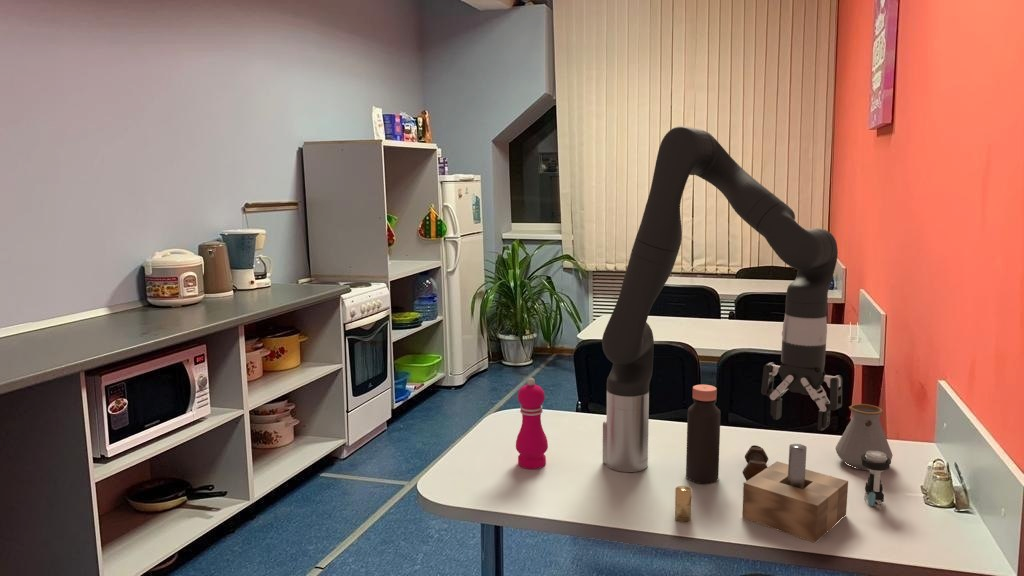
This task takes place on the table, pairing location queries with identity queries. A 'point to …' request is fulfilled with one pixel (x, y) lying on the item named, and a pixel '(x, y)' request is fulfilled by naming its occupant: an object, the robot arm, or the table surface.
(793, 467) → the long pin
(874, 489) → the push button
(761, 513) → the hole block
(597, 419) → the table surface
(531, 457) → the pepper mill
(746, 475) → the bolt
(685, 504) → the short pin
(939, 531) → the table surface
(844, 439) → the coffee pot
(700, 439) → the bottle
